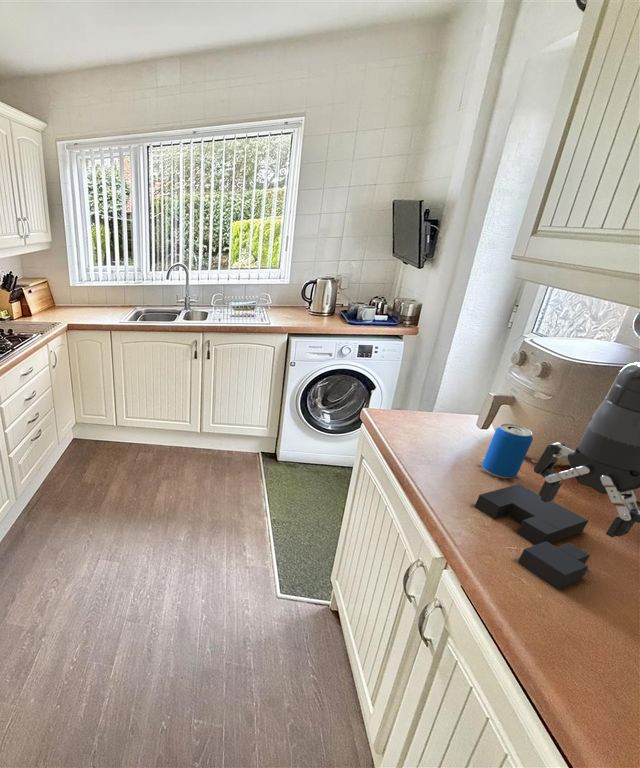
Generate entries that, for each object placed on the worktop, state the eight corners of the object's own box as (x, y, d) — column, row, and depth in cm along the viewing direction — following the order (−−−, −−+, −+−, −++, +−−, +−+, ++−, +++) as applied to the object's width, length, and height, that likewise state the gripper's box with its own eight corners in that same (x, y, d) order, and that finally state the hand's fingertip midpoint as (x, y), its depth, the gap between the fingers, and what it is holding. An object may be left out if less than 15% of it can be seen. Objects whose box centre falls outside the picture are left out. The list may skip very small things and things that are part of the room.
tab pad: (552, 549, 76) (558, 536, 75) (593, 574, 71) (601, 561, 69) (517, 561, 73) (523, 548, 72) (557, 588, 68) (565, 575, 67)
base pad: (513, 495, 90) (518, 483, 89) (581, 532, 80) (589, 520, 78) (474, 506, 87) (479, 494, 86) (540, 547, 76) (547, 534, 75)
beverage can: (509, 468, 99) (528, 425, 94) (520, 483, 94) (540, 439, 89) (477, 462, 102) (493, 420, 97) (485, 476, 96) (503, 433, 92)
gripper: (714, 453, 55) (652, 542, 61) (581, 408, 67) (541, 486, 74) (682, 463, 53) (621, 554, 59) (550, 414, 65) (512, 494, 72)
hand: (577, 516), depth 67 cm, fingers open, 8 cm apart
